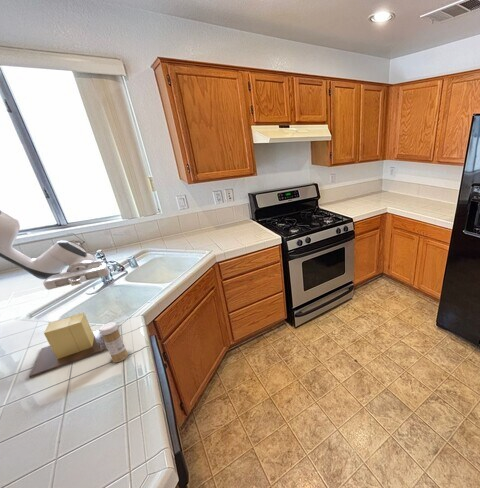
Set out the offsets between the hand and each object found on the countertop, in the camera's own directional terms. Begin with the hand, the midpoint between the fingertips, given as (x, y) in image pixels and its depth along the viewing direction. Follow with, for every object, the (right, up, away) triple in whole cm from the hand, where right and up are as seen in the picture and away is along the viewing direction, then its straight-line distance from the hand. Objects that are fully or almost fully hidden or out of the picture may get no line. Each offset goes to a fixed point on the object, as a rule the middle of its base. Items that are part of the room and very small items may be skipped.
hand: (75, 283), depth 103 cm
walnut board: (+8, -23, -7) cm, 26 cm away
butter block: (+6, -23, -9) cm, 25 cm away
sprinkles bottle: (+28, -24, -13) cm, 39 cm away
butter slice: (+10, -22, -6) cm, 25 cm away
